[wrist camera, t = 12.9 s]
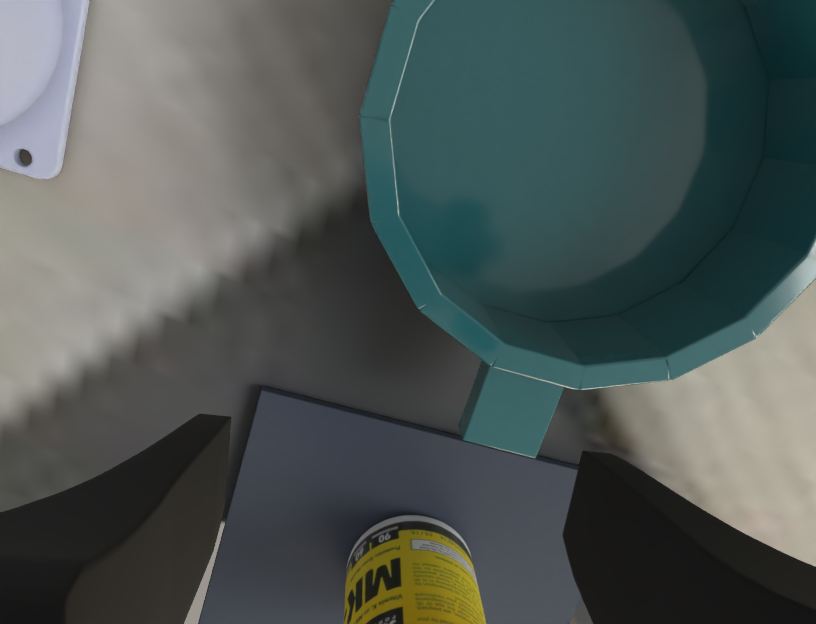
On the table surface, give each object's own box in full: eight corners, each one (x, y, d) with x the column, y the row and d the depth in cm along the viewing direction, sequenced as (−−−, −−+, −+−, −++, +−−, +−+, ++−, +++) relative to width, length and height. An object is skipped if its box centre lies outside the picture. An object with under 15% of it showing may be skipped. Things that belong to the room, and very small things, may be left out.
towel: (194, 637, 26) (192, 645, 26) (262, 385, 23) (261, 390, 23) (528, 702, 28) (530, 710, 28) (629, 478, 25) (633, 483, 25)
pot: (293, 351, 23) (278, 404, 19) (471, -290, 18) (503, -406, 14) (651, 445, 25) (708, 512, 21) (902, -109, 20) (1041, -164, 16)
